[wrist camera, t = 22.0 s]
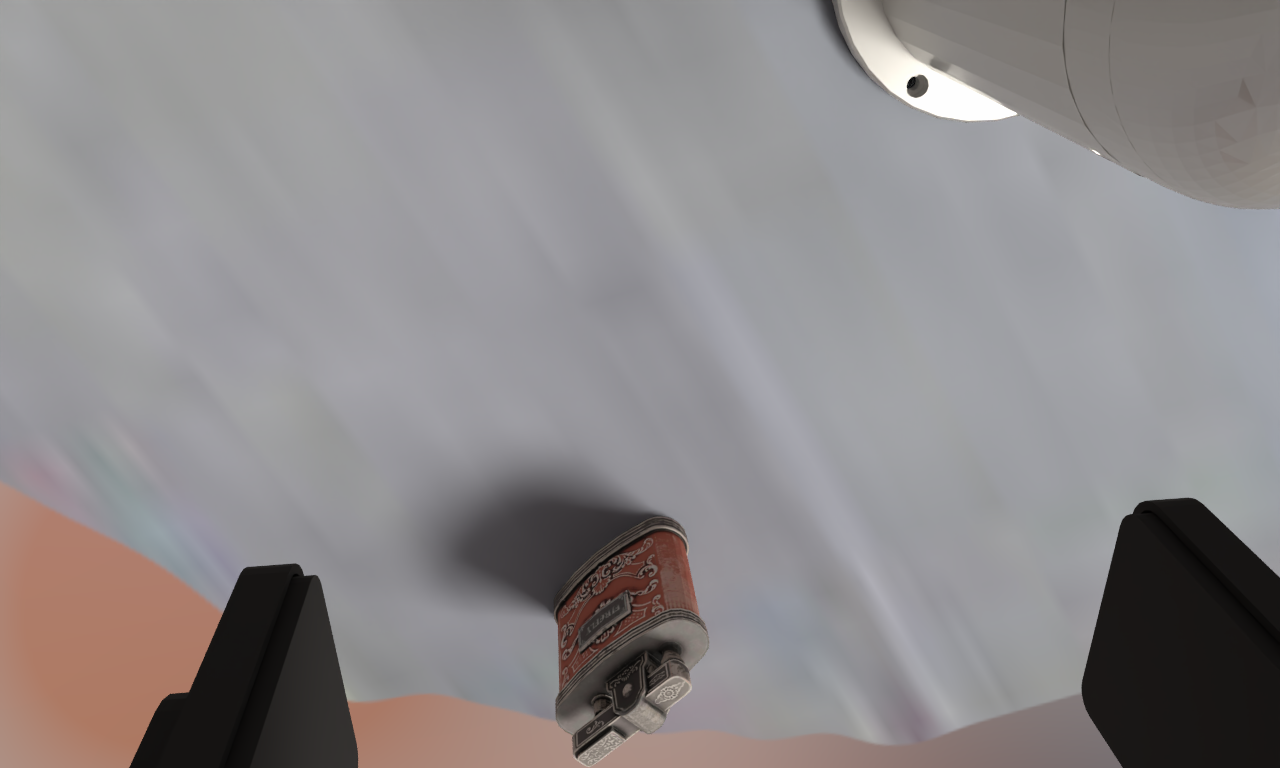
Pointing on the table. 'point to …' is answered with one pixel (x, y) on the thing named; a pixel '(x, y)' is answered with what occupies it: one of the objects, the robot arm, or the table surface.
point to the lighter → (627, 638)
